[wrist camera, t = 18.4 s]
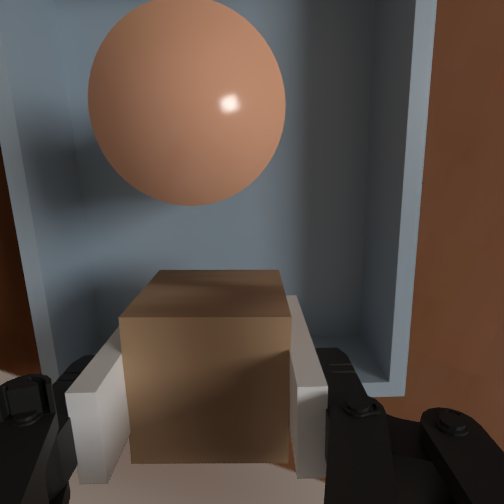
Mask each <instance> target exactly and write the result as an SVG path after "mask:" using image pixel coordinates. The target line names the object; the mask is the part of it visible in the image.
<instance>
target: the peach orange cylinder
mask: <svg viewBox="0 0 504 504" xmlns="http://www.w3.org/2000/svg"><path fill="white" fill-rule="evenodd" d="M285 106H286V103H285V90H284V85H283V79H282V75H281V72H280V69H279V66H278V63H277V61H276V59H275V57H274V55H273V53H272V50H271V49H270V47H269V46H268V44H267V43H266V41H265V39H264V38H263V37H262V36H261V34H260V33H259V32H258V31H257V30H256V28H255V27H254V26H253V25H252V24H251V23H249V22H248V21H247V20H246V19H245V18H244V17H243V16H241V15H240V14H238V13H237V12H235V11H234V10H232V9H231V8H229V7H227V6H225V5H223V4H221V3H218V2H215V1H212V0H152V1H150V2H147V3H145V4H143V5H141V6H139V7H137V8H136V9H134V10H132V11H131V12H129V13H128V14H127V15H125V16H124V17H123V18H122V19H121V20H119V21H118V22H117V23H116V25H115V26H114V27H113V28H112V29H111V30H110V31H109V33H108V34H107V36H106V37H105V39H104V40H103V42H102V43H101V45H100V47H99V49H98V51H97V53H96V56H95V58H94V61H93V65H92V68H91V72H90V77H89V83H88V109H89V115H90V121H91V125H92V128H93V131H94V135H95V138H96V140H97V142H98V144H99V146H100V148H101V150H102V152H103V154H104V155H105V157H106V159H107V160H108V162H109V163H110V164H111V165H112V167H113V168H114V169H115V171H116V172H117V173H118V174H119V175H120V176H121V177H122V178H123V179H124V180H125V181H127V182H128V183H129V184H130V185H132V186H133V187H134V188H136V189H137V190H139V191H141V192H142V193H144V194H146V195H148V196H150V197H152V198H154V199H157V200H159V201H163V202H166V203H169V204H175V205H181V206H199V205H207V204H211V203H216V202H219V201H222V200H224V199H227V198H229V197H231V196H233V195H235V194H237V193H239V192H240V191H242V190H243V189H244V188H246V187H247V186H249V185H250V184H251V183H252V182H253V181H254V180H255V179H256V178H257V177H258V176H259V175H260V174H261V173H262V171H263V170H264V169H265V168H266V166H267V165H268V163H269V162H270V160H271V158H272V157H273V155H274V153H275V151H276V148H277V146H278V144H279V141H280V138H281V134H282V131H283V126H284V120H285Z"/></svg>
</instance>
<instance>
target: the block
mask: <svg viewBox="0 0 504 504" xmlns="http://www.w3.org/2000/svg"><path fill="white" fill-rule="evenodd" d="M118 318H119V329H120V340H121V352H122V363H123V371H124V380H125V388H126V397H127V406H128V414H129V423H130V431H131V433H130V435H129V441H130V452H131V462H132V464H162V463H163V464H169V463H288V446H289V405H290V349H291V323H292V316H291V313H290V309H289V305H288V302H287V298H286V294H285V291H284V287H283V283H282V279H281V276H280V272H279V270H159V271H158V273H157V274H156V275H155V276H154V277H153V278H152V279H151V281H150V282H149V283H148V284H147V285H146V286H145V287H144V289H143V290H142V291H141V292H140V293H139V294H138V296H137V297H136V298H135V299H134V300H133V301H132V302H131V304H130V305H129V306H128V307H127V308H126V309H125V311H124V312H123V313H122V314H121V315H120V316H119V317H118Z"/></svg>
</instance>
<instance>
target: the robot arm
mask: <svg viewBox="0 0 504 504" xmlns="http://www.w3.org/2000/svg"><path fill="white" fill-rule="evenodd" d="M286 298H287V302H288V305H289V309H290V313H291V316H292V323H291V349H290V405H289V426H290V433H291V440H292V447H293V453H294V460H295V467H296V473H297V478H298V479H301V478H326V482H325V496H324V497H325V498H324V504H504V452H503V451H502V450H501V449H500V447H499V446H498V445H497V444H496V443H495V442H494V440H493V439H492V438H491V437H490V436H489V435H488V433H487V432H486V431H485V430H484V429H483V428H482V426H481V425H480V424H479V423H477V422H476V421H475V420H474V419H473V418H471V417H469V416H468V415H466V414H464V413H462V412H459V411H456V410H453V409H449V408H439V407H438V408H431V409H428V410H426V411H425V412H423V413H422V416H421V420H420V422H415V421H410V420H405V419H400V418H396V417H393V416H390V415H388V414H386V412H385V410H384V407H383V405H381V404H380V403H379V402H378V401H377V400H376V399H374V398H372V397H369V396H368V395H367V393H366V391H365V389H364V387H363V385H362V383H361V381H360V379H359V377H358V375H357V373H355V369H354V367H353V365H352V363H351V361H350V359H349V357H348V356H347V354H345V353H344V352H343V351H341V350H340V349H339V348H337V347H336V348H314V345H313V342H312V339H311V336H310V333H309V330H308V328H307V325H306V322H305V319H304V316H303V313H302V310H301V307H300V305H299V302H298V299H297V296H296V295H286ZM130 433H131V431H130V423H129V414H128V406H127V397H126V388H125V380H124V371H123V363H122V352H121V340H120V329H119V327H118V328H117V329H116V330H115V332H114V333H113V334H112V335H111V337H110V338H109V339H108V340H107V342H106V343H105V344H104V345H103V347H102V348H101V349H100V350H99V352H98V353H97V354H96V355H84V356H83V357H81V358H79V359H78V360H76V361H74V362H73V363H71V364H70V366H69V367H68V368H67V369H66V370H65V371H64V372H63V374H61V376H60V377H59V378H58V379H57V381H56V382H54V383H53V385H52V380H51V378H50V377H48V376H47V375H43V374H30V375H25V376H21V377H17V378H15V379H12V380H10V381H7V382H5V383H4V384H2V385H0V504H69V500H70V487H69V481H68V480H69V479H70V477H71V475H72V473H73V472H74V470H75V468H76V466H77V472H78V478H79V484H108V482H109V480H110V478H111V476H112V473H113V471H114V469H115V467H116V464H117V462H118V460H119V458H120V455H121V453H122V451H123V449H124V446H125V444H126V442H127V440H128V437H129V435H130ZM326 463H327V468H326Z"/></svg>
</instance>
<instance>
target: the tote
mask: <svg viewBox="0 0 504 504" xmlns="http://www.w3.org/2000/svg"><path fill="white" fill-rule="evenodd" d="M150 1H152V0H0V144H1V150H2V155H3V161H4V167H5V172H6V178H7V183H8V189H9V194H10V200H11V205H12V211H13V216H14V222H15V227H16V233H17V239H18V244H19V250H20V255H21V261H22V266H23V272H24V277H25V283H26V288H27V294H28V299H29V305H30V311H31V316H32V322H33V327H34V333H35V338H36V344H37V349H38V355H39V360H40V366H41V371H42V374H43V375H47V376H48V377H50V378H51V380H52V385H53V383H54V382H56V381H57V379H58V378H59V377H60V376H61V374H63V372H64V371H65V370H66V369H67V368H68V367H69V366H70V364H71V363H73V362H74V361H76V360H78V359H79V358H81V357H83V356H84V355H96V354H97V353H98V352H99V350H100V349H101V348H102V347H103V345H104V344H105V343H106V342H107V340H108V339H109V338H110V337H111V335H112V334H113V333H114V332H115V330H116V329H117V328H118V327H119V318H118V317H119V316H120V315H121V314H122V313H123V312H124V311H125V309H126V308H127V307H128V306H129V305H130V304H131V302H132V301H133V300H134V299H135V298H136V297H137V296H138V294H139V293H140V292H141V291H142V290H143V289H144V287H145V286H146V285H147V284H148V283H149V282H150V281H151V279H152V278H153V277H154V276H155V275H156V274H157V273H158V271H159V270H279V272H280V276H281V279H282V283H283V287H284V291H285V294H286V295H296V296H297V299H298V302H299V305H300V307H301V310H302V313H303V316H304V319H305V322H306V325H307V328H308V330H309V333H310V336H311V339H312V342H313V345H314V348H336V347H337V348H339V349H340V350H341V351H343V352H344V353H345V354H347V356H348V357H349V359H350V361H351V363H352V365H353V367H354V369H355V373H357V375H358V377H359V379H360V381H361V383H362V385H363V387H364V389H365V391H366V393H367V395H368V396H369V397H391V396H405V385H406V373H407V360H408V348H409V336H410V324H411V311H412V299H413V287H414V275H415V262H416V250H417V238H418V226H419V213H420V201H421V189H422V177H423V164H424V152H425V140H426V128H427V115H428V103H429V91H430V79H431V66H432V54H433V42H434V30H435V17H436V5H437V0H212V1H215V2H218V3H221V4H223V5H225V6H227V7H229V8H231V9H232V10H234V11H235V12H237V13H238V14H240V15H241V16H243V17H244V18H245V19H246V20H247V21H248V22H249V23H251V24H252V25H253V26H254V27H255V28H256V30H257V31H258V32H259V33H260V34H261V36H262V37H263V38H264V39H265V41H266V43H267V44H268V46H269V47H270V49H271V50H272V53H273V55H274V57H275V59H276V61H277V63H278V66H279V69H280V72H281V75H282V79H283V85H284V90H285V103H286V106H285V120H284V126H283V131H282V134H281V138H280V141H279V144H278V146H277V148H276V151H275V153H274V155H273V157H272V158H271V160H270V162H269V163H268V165H267V166H266V168H265V169H264V170H263V171H262V173H261V174H260V175H259V176H258V177H257V178H256V179H255V180H254V181H253V182H252V183H251V184H250V185H249V186H247V187H246V188H244V189H243V190H242V191H240V192H239V193H237V194H235V195H233V196H231V197H229V198H227V199H224V200H222V201H219V202H216V203H211V204H207V205H199V206H181V205H175V204H169V203H166V202H163V201H159V200H157V199H154V198H152V197H150V196H148V195H146V194H144V193H142V192H141V191H139V190H137V189H136V188H134V187H133V186H132V185H130V184H129V183H128V182H127V181H125V180H124V179H123V178H122V177H121V176H120V175H119V174H118V173H117V172H116V171H115V169H114V168H113V167H112V165H111V164H110V163H109V162H108V160H107V159H106V157H105V155H104V154H103V152H102V150H101V148H100V146H99V144H98V142H97V140H96V138H95V135H94V131H93V128H92V125H91V121H90V115H89V109H88V83H89V77H90V72H91V68H92V65H93V61H94V58H95V56H96V53H97V51H98V49H99V47H100V45H101V43H102V42H103V40H104V39H105V37H106V36H107V34H108V33H109V31H110V30H111V29H112V28H113V27H114V26H115V25H116V23H117V22H118V21H119V20H121V19H122V18H123V17H124V16H125V15H127V14H128V13H129V12H131V11H132V10H134V9H136V8H137V7H139V6H141V5H143V4H145V3H147V2H150Z"/></svg>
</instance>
